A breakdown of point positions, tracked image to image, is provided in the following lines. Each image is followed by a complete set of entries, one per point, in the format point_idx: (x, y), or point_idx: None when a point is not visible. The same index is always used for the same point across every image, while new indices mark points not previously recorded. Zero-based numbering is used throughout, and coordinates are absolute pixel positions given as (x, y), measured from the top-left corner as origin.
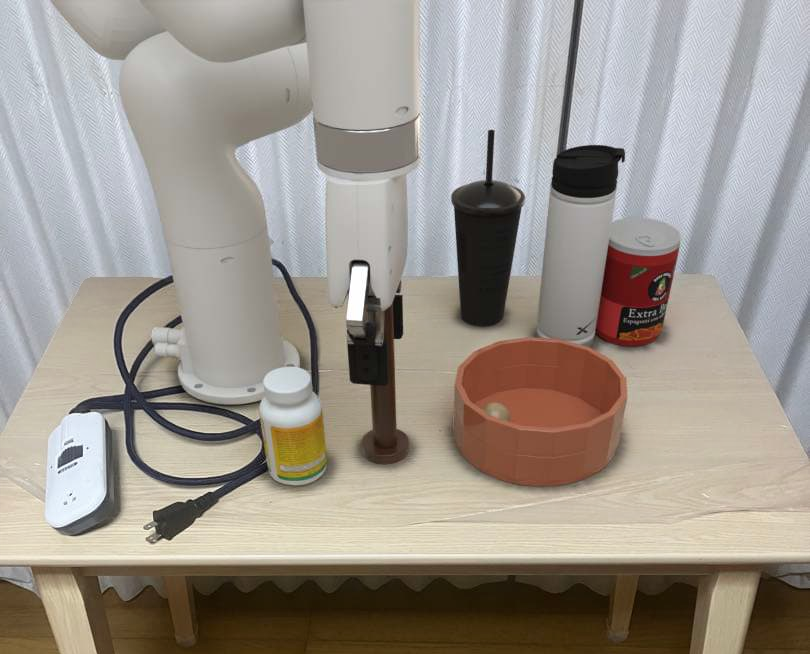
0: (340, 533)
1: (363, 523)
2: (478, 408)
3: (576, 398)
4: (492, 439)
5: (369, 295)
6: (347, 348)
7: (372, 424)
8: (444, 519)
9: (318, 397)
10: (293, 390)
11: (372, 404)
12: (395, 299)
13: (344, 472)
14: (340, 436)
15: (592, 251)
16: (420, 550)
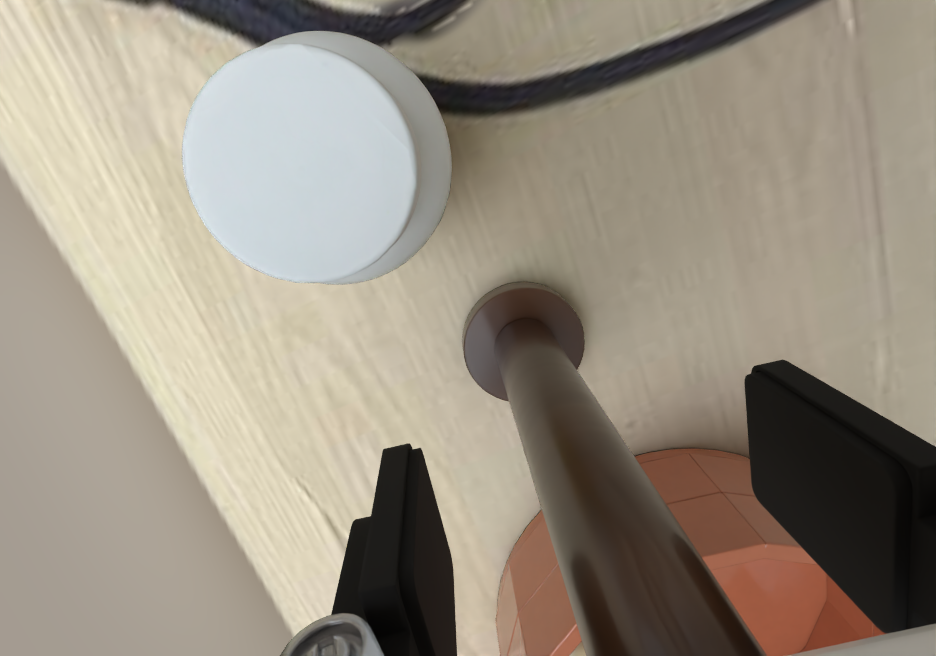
0: (201, 364)
1: (255, 395)
2: (569, 649)
3: (800, 643)
4: (517, 644)
5: (926, 491)
6: (364, 554)
7: (515, 343)
8: (342, 532)
9: (410, 253)
10: (228, 246)
11: (519, 377)
12: (898, 623)
13: (403, 281)
14: (538, 207)
15: None
16: (236, 524)
